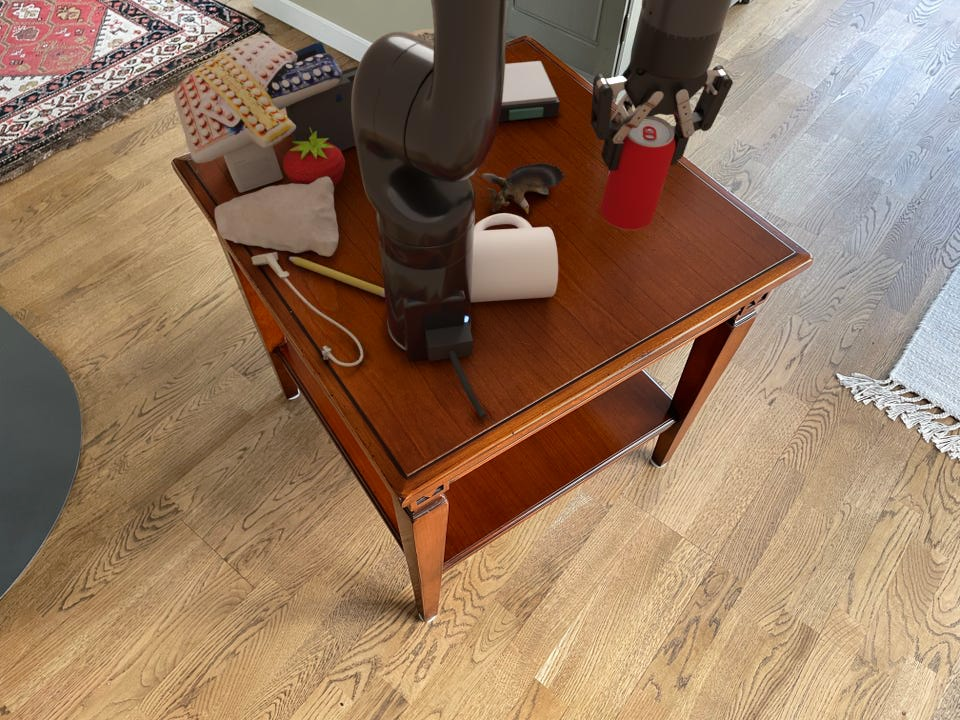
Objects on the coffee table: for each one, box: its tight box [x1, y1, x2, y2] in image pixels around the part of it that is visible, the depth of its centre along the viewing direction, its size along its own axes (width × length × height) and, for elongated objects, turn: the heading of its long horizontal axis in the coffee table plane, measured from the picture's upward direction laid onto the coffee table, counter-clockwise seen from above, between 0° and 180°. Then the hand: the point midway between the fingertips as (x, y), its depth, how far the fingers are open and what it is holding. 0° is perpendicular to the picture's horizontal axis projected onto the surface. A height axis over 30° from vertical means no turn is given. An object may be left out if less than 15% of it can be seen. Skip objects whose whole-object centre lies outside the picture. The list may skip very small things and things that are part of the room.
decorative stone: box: [214, 176, 340, 258], centre depth 85 cm, size 10×4×15 cm
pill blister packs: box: [173, 33, 342, 164], centre depth 85 cm, size 21×6×15 cm
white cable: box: [251, 251, 364, 368], centre depth 80 cm, size 5×3×20 cm
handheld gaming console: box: [285, 65, 358, 152], centre depth 95 cm, size 23×3×10 cm, turn 124°
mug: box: [471, 212, 559, 303], centre depth 81 cm, size 12×10×8 cm
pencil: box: [284, 255, 385, 298], centre depth 83 cm, size 1×14×1 cm, turn 66°
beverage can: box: [599, 115, 675, 231], centre depth 78 cm, size 6×6×12 cm
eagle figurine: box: [481, 162, 566, 214], centre depth 90 cm, size 8×7×9 cm
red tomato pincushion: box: [282, 128, 346, 188], centre depth 87 cm, size 6×8×10 cm
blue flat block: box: [293, 41, 342, 102], centre depth 94 cm, size 7×14×1 cm
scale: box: [499, 60, 561, 123], centre depth 104 cm, size 10×10×3 cm
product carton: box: [223, 142, 284, 194], centre depth 90 cm, size 6×6×7 cm
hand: (640, 162), depth 77 cm, fingers closed on beverage can, 6 cm apart
